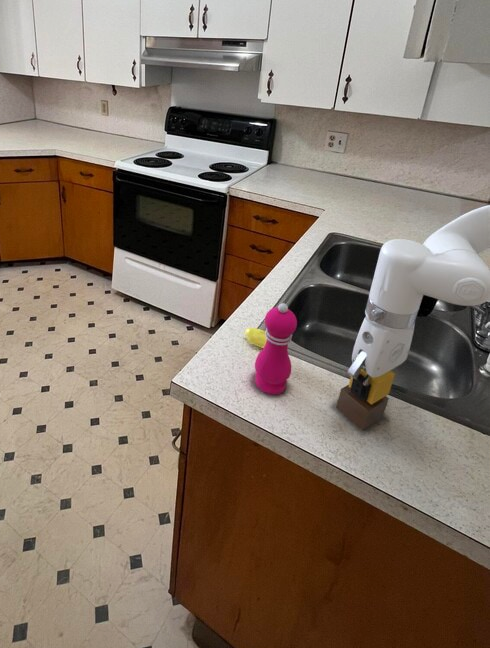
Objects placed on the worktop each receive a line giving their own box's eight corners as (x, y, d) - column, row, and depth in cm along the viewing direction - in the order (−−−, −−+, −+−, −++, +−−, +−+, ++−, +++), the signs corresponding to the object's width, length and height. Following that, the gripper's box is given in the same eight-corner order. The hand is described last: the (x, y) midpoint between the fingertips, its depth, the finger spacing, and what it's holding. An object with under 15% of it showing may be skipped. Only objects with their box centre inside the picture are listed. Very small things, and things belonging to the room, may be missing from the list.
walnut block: (356, 395, 86) (361, 377, 84) (382, 417, 81) (389, 398, 79) (335, 407, 83) (340, 388, 81) (362, 430, 78) (368, 411, 76)
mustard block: (365, 376, 83) (370, 356, 80) (388, 393, 79) (395, 373, 77) (348, 386, 80) (353, 366, 78) (371, 404, 76) (377, 384, 74)
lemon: (270, 357, 95) (272, 344, 93) (240, 340, 100) (242, 327, 98) (279, 348, 98) (282, 335, 96) (250, 332, 103) (252, 319, 101)
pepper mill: (245, 376, 90) (256, 298, 81) (272, 366, 93) (285, 289, 84) (267, 401, 84) (281, 320, 75) (295, 389, 87) (312, 309, 78)
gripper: (378, 340, 65) (355, 423, 73) (442, 307, 73) (414, 385, 80) (338, 313, 71) (320, 393, 79) (401, 285, 78) (379, 361, 86)
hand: (368, 389), depth 79 cm, fingers closed on mustard block, 5 cm apart
